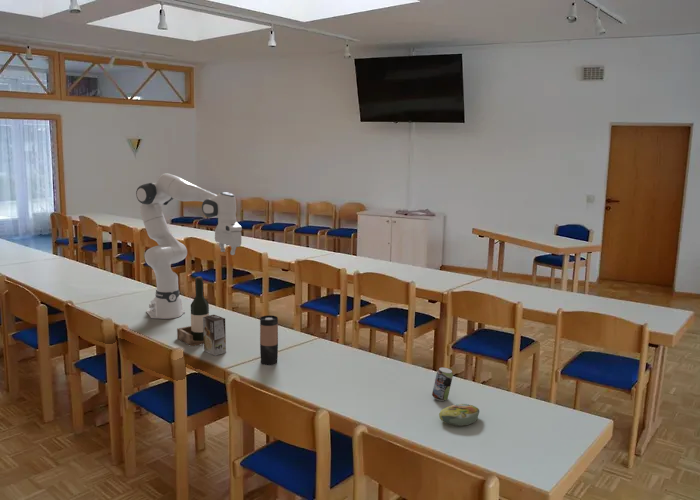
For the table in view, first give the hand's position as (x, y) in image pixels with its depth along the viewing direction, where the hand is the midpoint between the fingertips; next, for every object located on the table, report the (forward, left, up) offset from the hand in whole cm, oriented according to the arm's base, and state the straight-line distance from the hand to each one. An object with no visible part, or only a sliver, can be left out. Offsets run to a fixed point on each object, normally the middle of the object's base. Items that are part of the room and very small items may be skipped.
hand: (227, 253), depth 305 cm
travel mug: (+52, -10, -39) cm, 66 cm away
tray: (+6, -20, -39) cm, 44 cm away
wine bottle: (+7, -19, -39) cm, 43 cm away
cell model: (+140, +11, -39) cm, 146 cm away
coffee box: (+26, -22, -39) cm, 52 cm away
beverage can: (+124, +20, -39) cm, 132 cm away
